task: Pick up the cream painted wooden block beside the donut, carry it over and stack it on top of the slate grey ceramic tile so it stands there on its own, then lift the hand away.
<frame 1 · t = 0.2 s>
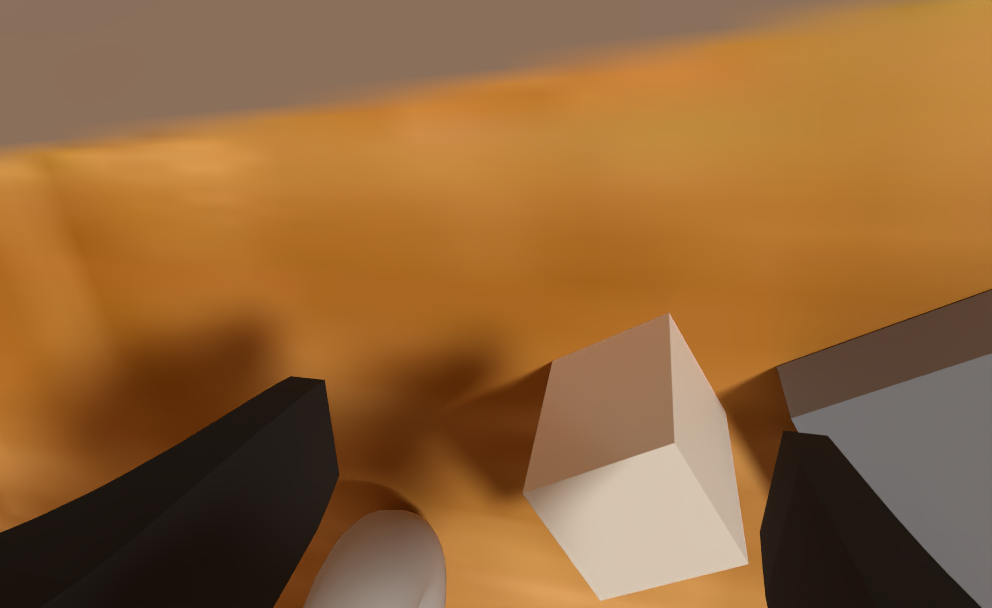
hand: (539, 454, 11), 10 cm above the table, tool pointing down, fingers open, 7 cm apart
donut: (417, 542, 28), on the table
block: (638, 386, 22), on the table
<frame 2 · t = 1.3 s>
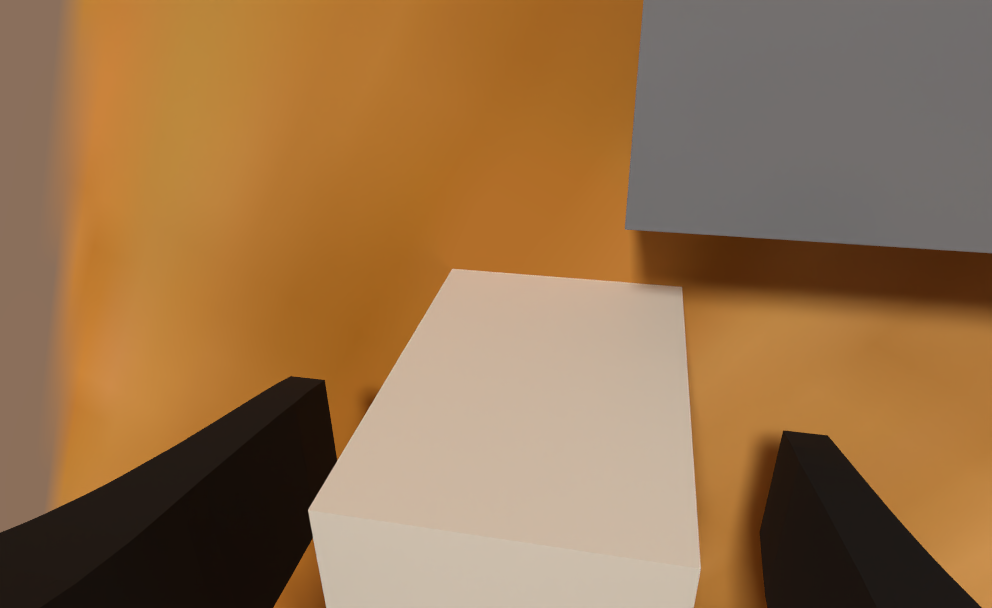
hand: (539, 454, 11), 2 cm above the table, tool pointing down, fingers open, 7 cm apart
block: (560, 372, 13), on the table
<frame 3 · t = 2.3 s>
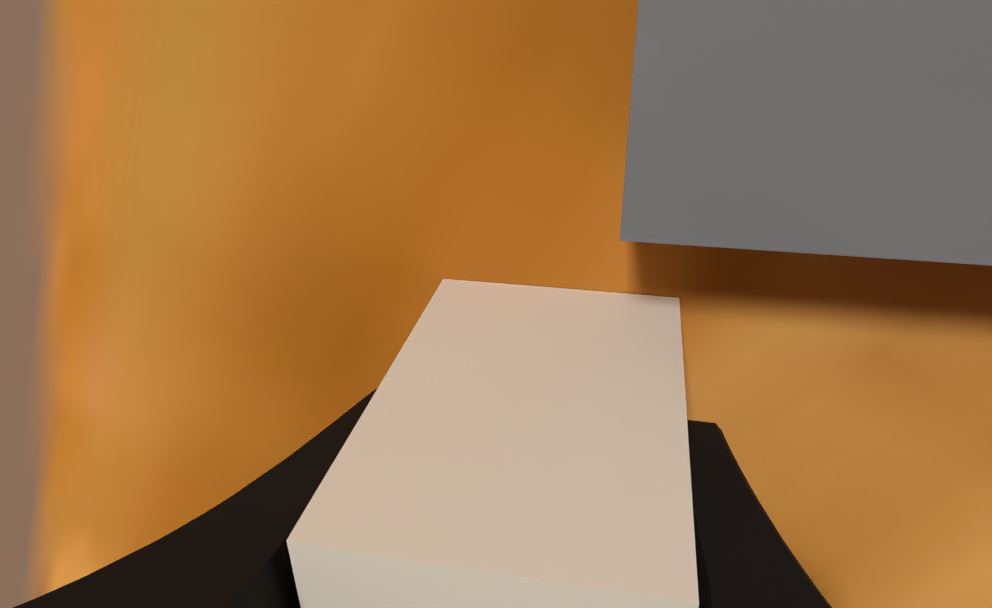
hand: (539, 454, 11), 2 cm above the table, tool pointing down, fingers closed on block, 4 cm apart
block: (554, 385, 13), on the table, touching gripper
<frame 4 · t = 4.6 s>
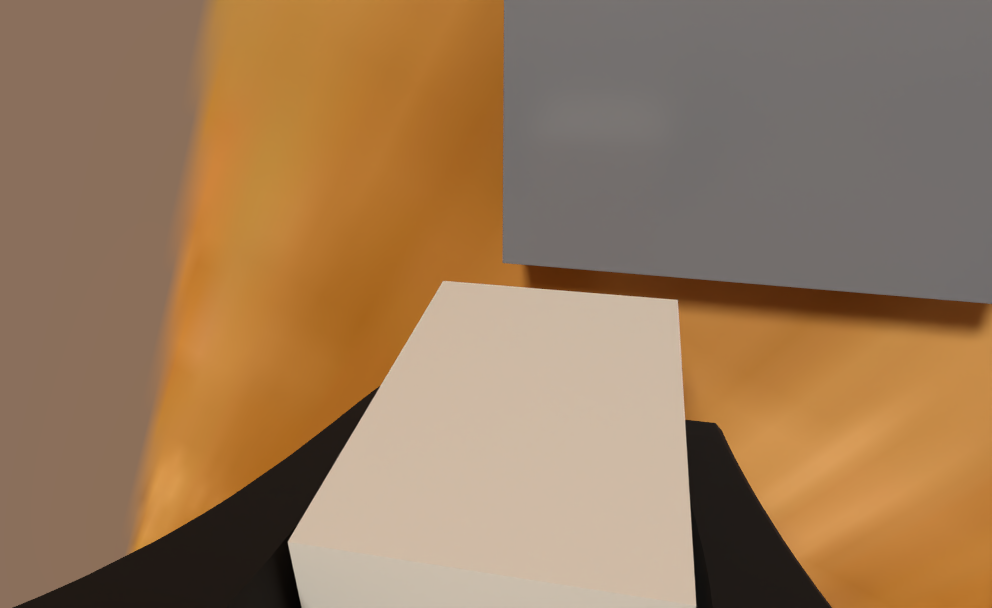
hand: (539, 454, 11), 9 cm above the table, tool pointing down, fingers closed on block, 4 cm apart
block: (553, 387, 13), point 7 cm above the table, touching gripper
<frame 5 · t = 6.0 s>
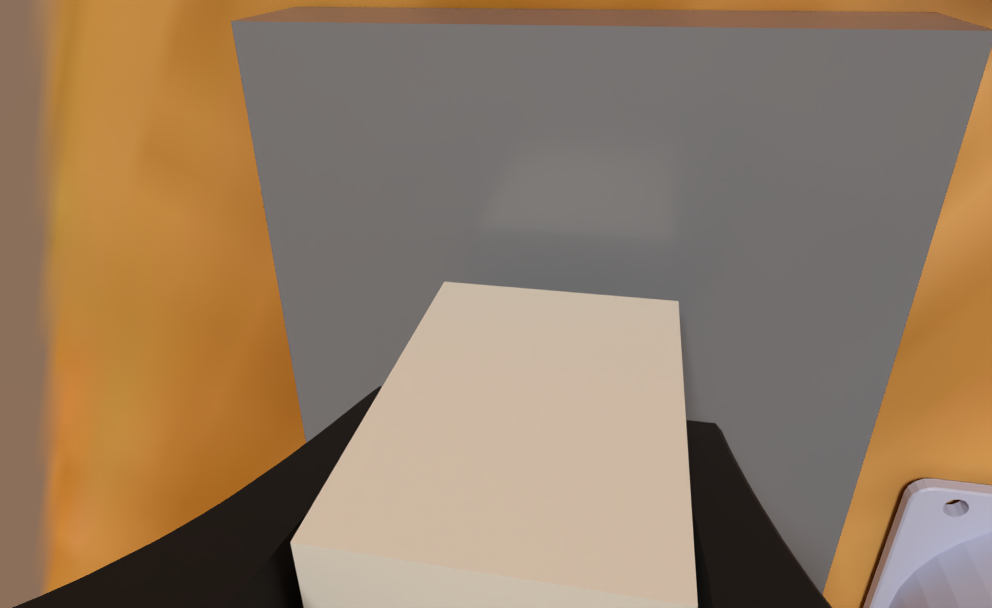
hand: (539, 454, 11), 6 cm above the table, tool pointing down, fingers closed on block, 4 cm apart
tile: (575, 291, 16), on the table
block: (554, 387, 13), point 4 cm above the table, touching gripper
when the fingers open (6 cm above the table, at t = 6.8 s): block drops 1 cm, resting on tile.
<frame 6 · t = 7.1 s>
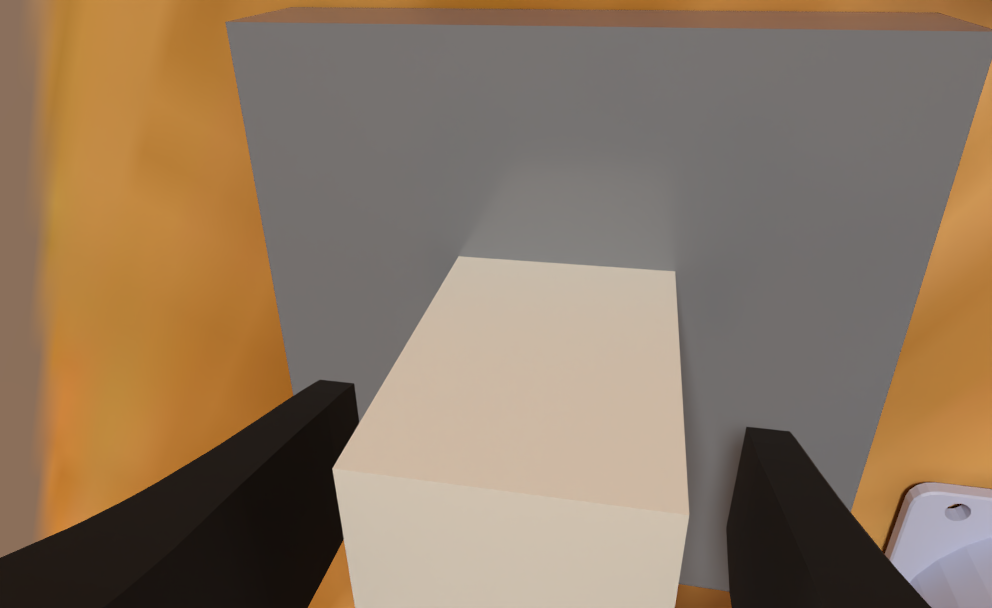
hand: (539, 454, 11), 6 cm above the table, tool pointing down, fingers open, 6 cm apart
tile: (574, 293, 16), on the table
block: (560, 355, 14), point 2 cm above the table, touching tile
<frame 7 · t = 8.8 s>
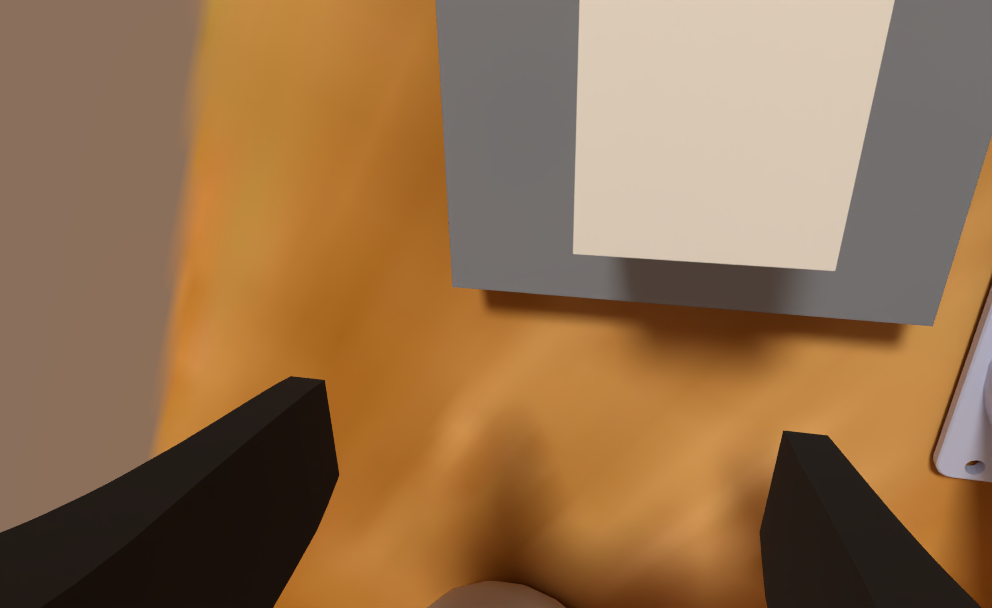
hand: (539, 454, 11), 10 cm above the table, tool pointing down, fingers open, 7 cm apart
donut: (544, 599, 28), on the table
tile: (699, 45, 17), on the table
block: (701, 66, 15), point 2 cm above the table, touching tile
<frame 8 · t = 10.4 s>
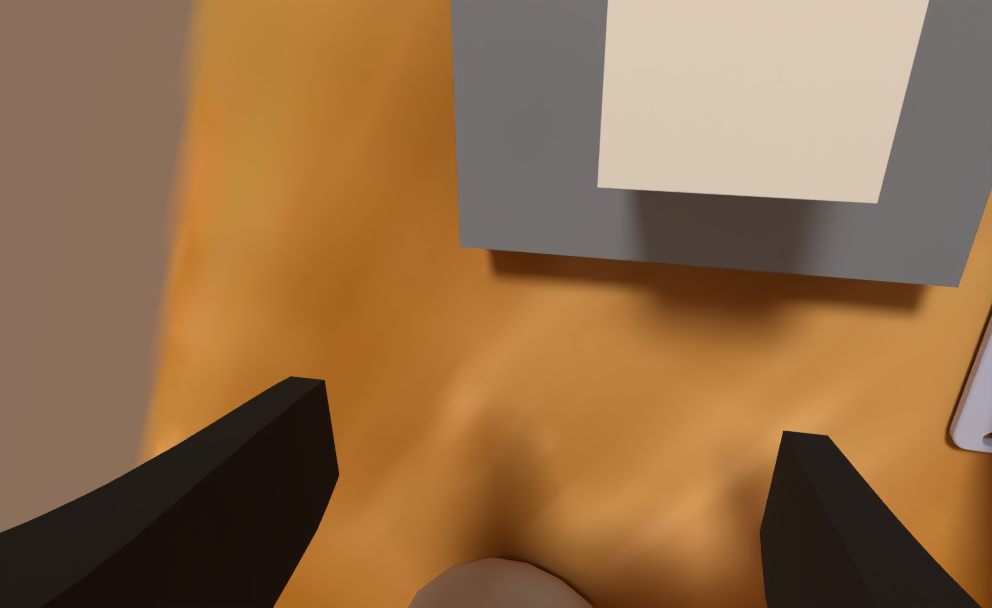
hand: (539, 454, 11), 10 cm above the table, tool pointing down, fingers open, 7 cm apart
donut: (546, 578, 28), on the table
block: (725, 10, 15), point 2 cm above the table, touching tile
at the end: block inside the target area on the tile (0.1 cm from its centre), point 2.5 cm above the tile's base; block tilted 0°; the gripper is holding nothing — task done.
